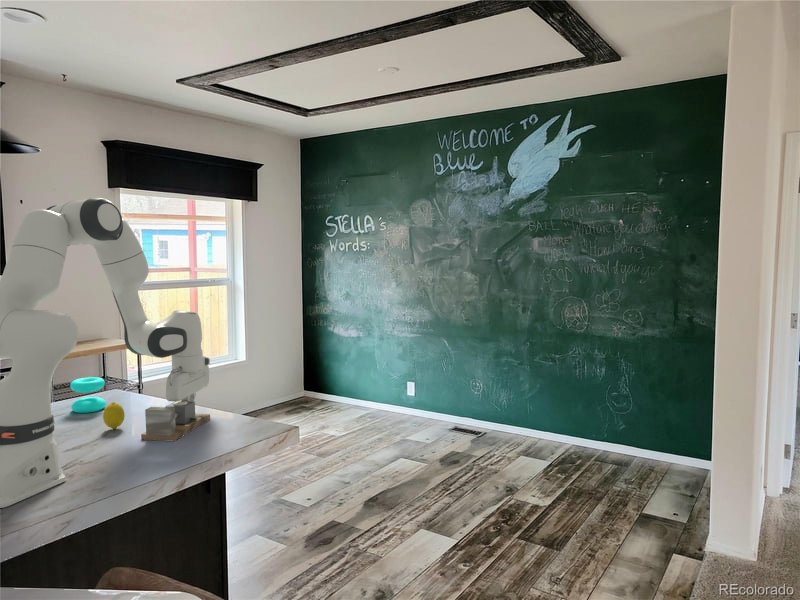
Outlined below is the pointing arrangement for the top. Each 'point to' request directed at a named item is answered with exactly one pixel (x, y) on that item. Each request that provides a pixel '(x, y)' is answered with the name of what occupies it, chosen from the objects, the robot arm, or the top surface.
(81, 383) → the donuts
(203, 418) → the bench
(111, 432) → the top surface
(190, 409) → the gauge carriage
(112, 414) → the lemon
